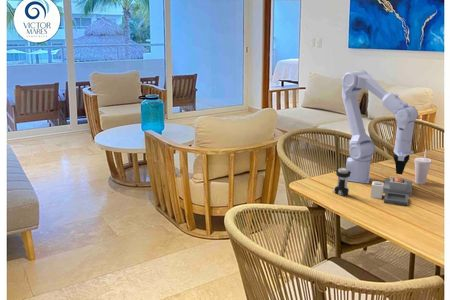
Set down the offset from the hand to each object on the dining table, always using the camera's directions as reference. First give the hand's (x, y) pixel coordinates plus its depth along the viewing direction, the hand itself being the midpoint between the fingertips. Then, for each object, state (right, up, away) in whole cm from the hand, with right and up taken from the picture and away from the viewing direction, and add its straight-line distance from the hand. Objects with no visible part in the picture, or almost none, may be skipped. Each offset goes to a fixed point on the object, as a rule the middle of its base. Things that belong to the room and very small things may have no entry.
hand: (399, 173), depth 179 cm
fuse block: (-9, -8, -3) cm, 13 cm away
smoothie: (+13, -4, +12) cm, 18 cm away
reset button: (0, -5, +1) cm, 5 cm away
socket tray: (-4, -9, -6) cm, 12 cm away
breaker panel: (+1, -6, +4) cm, 8 cm away
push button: (-23, -8, -1) cm, 24 cm away
